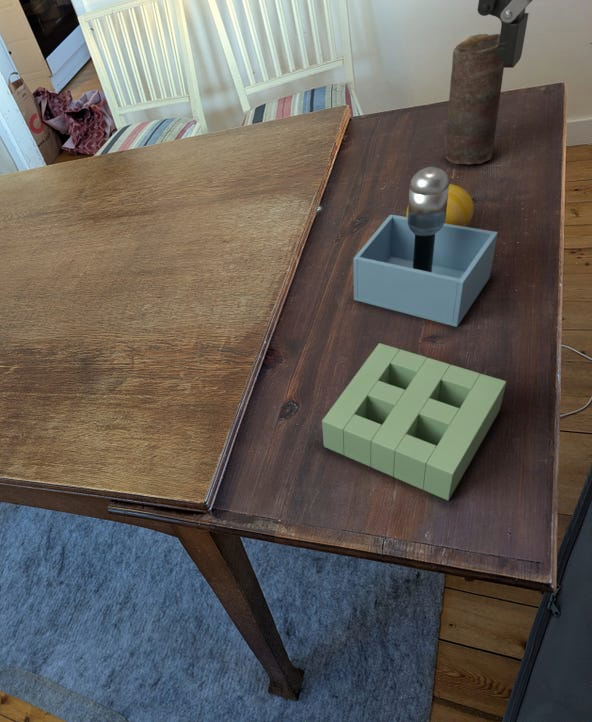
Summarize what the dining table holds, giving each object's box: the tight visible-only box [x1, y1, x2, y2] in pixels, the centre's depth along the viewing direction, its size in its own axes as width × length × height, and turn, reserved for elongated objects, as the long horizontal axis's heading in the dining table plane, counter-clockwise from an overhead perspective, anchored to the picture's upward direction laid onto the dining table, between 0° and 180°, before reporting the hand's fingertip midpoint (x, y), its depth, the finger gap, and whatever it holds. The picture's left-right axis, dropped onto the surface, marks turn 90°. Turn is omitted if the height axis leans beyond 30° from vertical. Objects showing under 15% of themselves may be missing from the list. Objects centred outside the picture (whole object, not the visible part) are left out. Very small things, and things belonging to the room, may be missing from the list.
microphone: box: [407, 166, 450, 272], centre depth 80 cm, size 4×4×18 cm
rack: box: [321, 342, 507, 501], centre depth 70 cm, size 14×14×5 cm
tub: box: [352, 214, 499, 328], centre depth 84 cm, size 14×11×8 cm
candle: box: [443, 33, 505, 165], centre depth 99 cm, size 8×7×20 cm
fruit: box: [405, 183, 475, 227], centre depth 91 cm, size 9×8×8 cm
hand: (569, 64), depth 50 cm, fingers open, 8 cm apart
